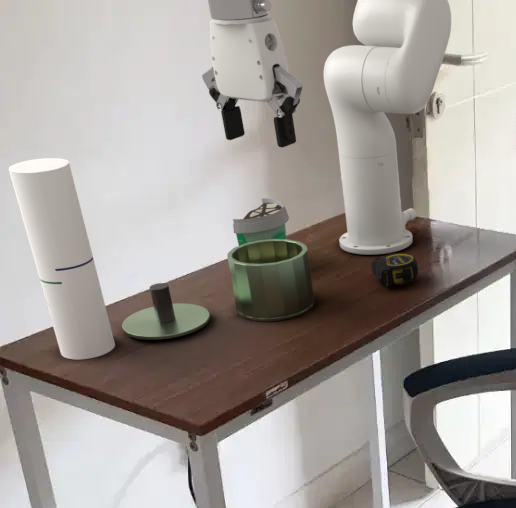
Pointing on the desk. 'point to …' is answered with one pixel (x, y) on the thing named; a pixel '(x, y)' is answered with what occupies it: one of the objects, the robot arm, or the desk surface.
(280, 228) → the food container
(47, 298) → the cylindrical container
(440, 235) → the desk surface
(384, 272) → the tape measure
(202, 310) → the lid
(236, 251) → the tin
